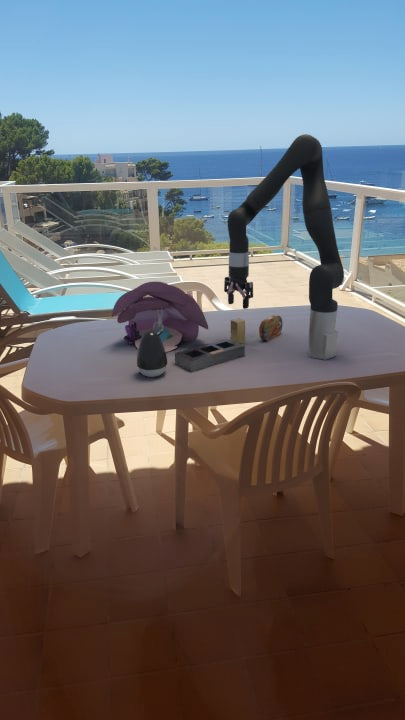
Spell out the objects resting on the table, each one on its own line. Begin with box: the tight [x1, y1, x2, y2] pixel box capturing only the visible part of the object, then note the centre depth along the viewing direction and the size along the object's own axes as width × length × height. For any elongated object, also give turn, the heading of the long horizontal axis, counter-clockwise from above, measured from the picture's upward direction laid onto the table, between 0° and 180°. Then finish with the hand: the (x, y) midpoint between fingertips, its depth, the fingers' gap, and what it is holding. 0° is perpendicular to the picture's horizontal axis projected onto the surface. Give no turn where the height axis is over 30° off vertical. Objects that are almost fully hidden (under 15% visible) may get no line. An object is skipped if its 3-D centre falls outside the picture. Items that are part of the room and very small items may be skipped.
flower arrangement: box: [111, 281, 209, 353], centre depth 190 cm, size 35×24×28 cm
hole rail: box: [174, 338, 246, 373], centre depth 177 cm, size 24×10×4 cm, turn 127°
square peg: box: [230, 318, 246, 344], centre depth 194 cm, size 4×4×9 cm
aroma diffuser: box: [136, 330, 168, 378], centre depth 164 cm, size 10×10×15 cm
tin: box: [258, 314, 283, 342], centre depth 199 cm, size 15×3×8 cm, turn 143°
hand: (238, 306), depth 190 cm, fingers open, 8 cm apart
